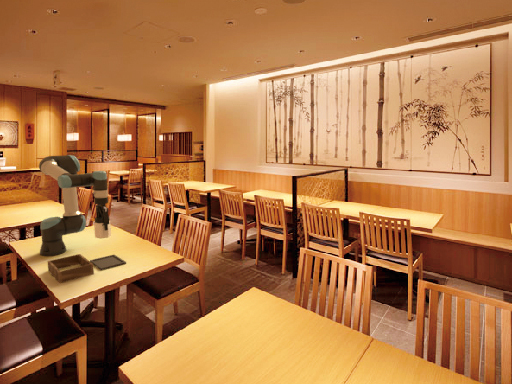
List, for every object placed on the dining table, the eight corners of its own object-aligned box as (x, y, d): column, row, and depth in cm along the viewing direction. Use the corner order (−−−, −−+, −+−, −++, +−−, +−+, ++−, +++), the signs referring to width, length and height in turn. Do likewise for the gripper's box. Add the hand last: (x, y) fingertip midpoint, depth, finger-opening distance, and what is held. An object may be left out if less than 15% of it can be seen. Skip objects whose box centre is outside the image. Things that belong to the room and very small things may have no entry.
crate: (48, 270, 190) (47, 261, 189) (80, 263, 202) (79, 253, 201) (59, 283, 174) (58, 272, 173) (93, 273, 186) (93, 263, 185)
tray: (90, 262, 204) (89, 260, 204) (114, 256, 214) (114, 254, 214) (101, 270, 191) (100, 268, 191) (126, 263, 202) (126, 261, 202)
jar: (96, 239, 194) (94, 219, 192) (94, 235, 200) (93, 216, 198) (112, 237, 198) (111, 218, 196) (110, 233, 205) (109, 215, 203)
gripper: (88, 195, 199) (91, 231, 203) (100, 200, 185) (103, 238, 189) (101, 194, 204) (103, 229, 208) (114, 198, 190) (116, 236, 194)
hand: (103, 233), depth 199 cm, fingers closed on jar, 7 cm apart
